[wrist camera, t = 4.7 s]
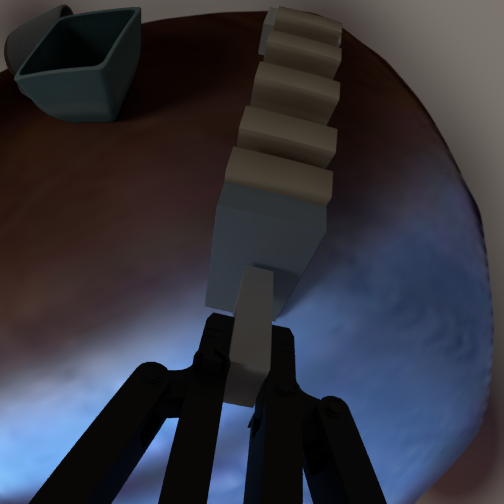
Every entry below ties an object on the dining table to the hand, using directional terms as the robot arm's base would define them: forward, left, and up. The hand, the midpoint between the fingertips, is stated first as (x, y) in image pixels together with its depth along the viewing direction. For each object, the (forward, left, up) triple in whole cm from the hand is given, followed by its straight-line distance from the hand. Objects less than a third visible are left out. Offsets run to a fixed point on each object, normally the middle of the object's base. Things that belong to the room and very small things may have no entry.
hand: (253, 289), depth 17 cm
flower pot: (-23, +4, -6) cm, 24 cm away
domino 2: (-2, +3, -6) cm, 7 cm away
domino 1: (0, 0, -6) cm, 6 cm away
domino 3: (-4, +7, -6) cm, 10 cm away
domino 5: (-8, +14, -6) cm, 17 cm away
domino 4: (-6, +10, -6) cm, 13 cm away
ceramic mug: (-35, +3, -6) cm, 35 cm away
